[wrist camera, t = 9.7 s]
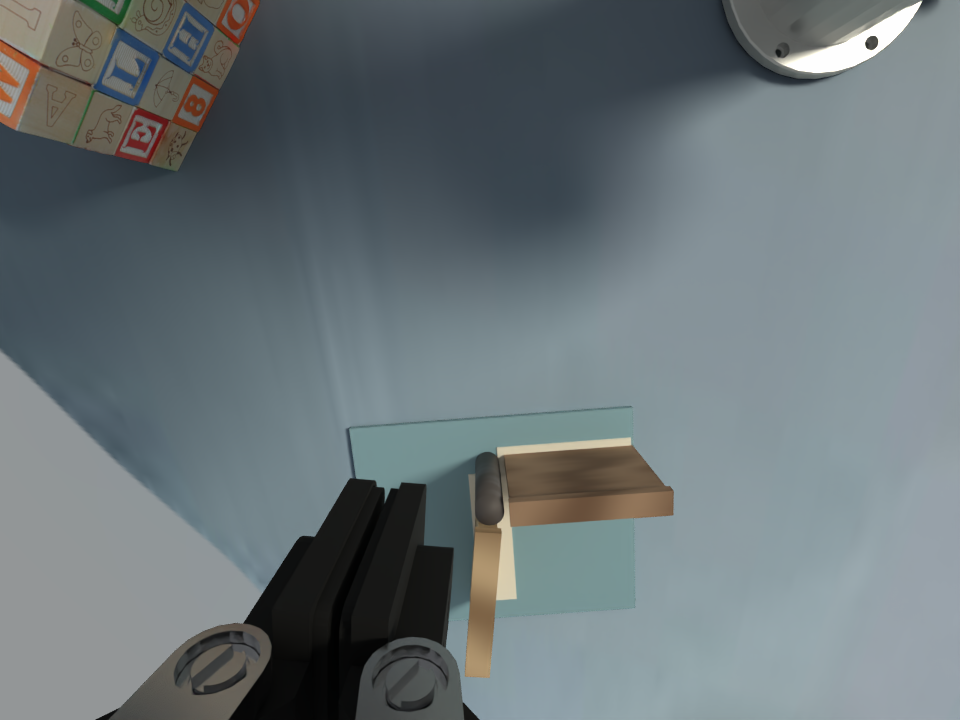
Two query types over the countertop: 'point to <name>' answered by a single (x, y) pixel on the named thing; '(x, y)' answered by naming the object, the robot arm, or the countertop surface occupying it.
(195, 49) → the stack of blocks
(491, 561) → the panel
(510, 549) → the board
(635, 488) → the fixed fence panel
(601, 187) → the countertop surface
